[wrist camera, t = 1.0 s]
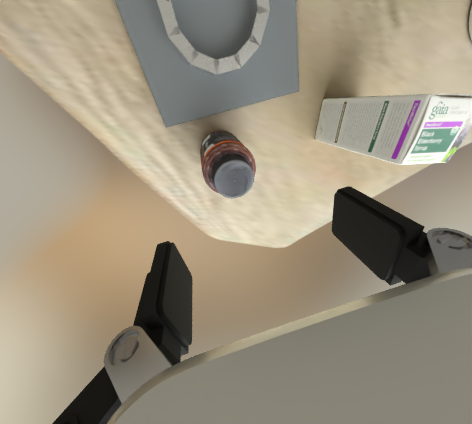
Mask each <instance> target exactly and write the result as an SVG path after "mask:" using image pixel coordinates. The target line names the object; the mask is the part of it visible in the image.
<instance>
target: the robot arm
mask: <svg viewBox="0 0 472 424" xmlns="http://www.w3.org/2000/svg"><path fill="white" fill-rule="evenodd" d="M469 33H470V37H471V40H472V6H471V10H470V17H469ZM423 229H424V226H422V225H420V224H418V223H416V222H414V221H413V220H411V219H409V218H407V217H405V216H403V215H402V214H400V213H398V212H396V211H394V210H392V209H390V208H389V207H387V206H385V205H383V204H381V203H379V202H378V201H376V200H374V199H372V198H370V197H368V196H367V195H365V194H363V193H361V192H359V191H357V190H356V189H354V188H352V187H345V188H342V189H339V190H337V193H335V196H334V208H333V220H332V232H333V234H334V235H335V236H336V237H337V238H338V239H339V240H340V241H341V242H342V243H343V244H344V245H345V246H346V247H347V248H348V249H349V250H350V251H351V252H352V253H353V254H355V255H356V256H357V257H358V258H359V259H360V260H361V261H362V262H363V263H364V264H365V265H366V266H367V267H368V268H369V269H370V270H371V271H373V273H375V274H376V275H377V276H378V277H379V278H380V279H382V280H385V281H386V282H387V283H388V284H389V285H393V284H396V283H399V282H401V280H402V281H403V282H405V283H406V284H404V285H401V286H398V287H395V288H393V289H389V290H386V291H383V292H380V293H377V294H374V295H371V296H368V297H365V298H362V299H359V300H356V301H353V302H350V303H347V304H344V305H341V306H338V307H335V308H332V309H329V310H326V311H323V312H320V313H317V314H314V315H311V316H308V317H305V318H302V319H299V320H296V321H293V322H290V323H287V324H285V325H282V326H279V327H276V328H273V329H270V330H267V331H264V332H261V333H258V334H255V335H252V336H250V337H246V338H244V339H241V340H238V341H235V342H232V343H229V344H227V345H224V346H221V347H218V348H215V349H213V350H210V351H207V352H204V353H202V354H199V355H196V356H194V357H191V358H189V359H187V360H184V361H182V362H180V357H181V355H184V354H187V353H188V345H190V344H191V342H192V276H191V273H190V271H189V270H188V268H187V266H186V264H185V262H184V261H183V259H182V257H181V255H180V253H179V252H178V250H177V248H176V246H175V244H174V243H170V242H169V241H167V242H163V243H160V244H158V245H157V248H156V251H155V255H154V260H153V263H152V267H151V271H150V272H149V273H148V274H147V277H146V280H145V284H144V287H143V291H142V295H141V299H140V302H139V306H138V310H137V314H136V317H135V321H134V325H133V326H131V327H128V328H126V329H125V330H123V331H122V332H121V333H119V334H118V335H117V336H116V337H115V338H114V339H113V340H112V342H111V344H110V345H109V346H108V348H107V351H106V353H105V357H104V367H103V369H102V370H101V371H100V372H99V373H98V374H97V375H96V376H95V377H94V378H93V380H92V381H91V382H90V383H89V384H88V385H87V386H86V387H85V388H84V389H83V391H82V392H81V393H80V394H79V395H78V396H77V397H76V398H75V399H74V401H73V402H72V403H71V404H70V405H69V406H68V407H67V408H66V409H65V410H64V411H63V413H62V414H61V415H60V416H59V417H58V418H57V419H56V420H55V421H54V423H53V424H472V236H470V235H468V234H466V233H464V232H461V231H457V230H454V229H448V228H435V229H431V230H429V231H428V232H427V233H425V232H423Z"/></svg>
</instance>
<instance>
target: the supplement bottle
mask: <svg viewBox="0 0 472 424" xmlns="http://www.w3.org/2000/svg"><path fill="white" fill-rule="evenodd" d="M200 151H201V152H200V153H201V163H202V172H203V176H204V179H205V181H206V183H207V184H208V186H209V187H210V188H211V189H212V190H214V191H215V192H217V193H220V194H221V195H223V196H225V197H228V198H237V197H241V196H243V195H245V194H246V193H247V192H248V191H249V190H250V189H251V187H252V185H253V182H254V176H255V171H256V165H255V160H254V158H253V155H252V154H251V152H250V151H249V150H248V149H247V148H246V147H245V146H244V145H243V144H242V143H241V142H240V141H239V140H238V139H237V138H236V137H235V136H234V135H232V134H231V133H229V132H226V131H215V132H213V133H211V134H209V135H208V136H207V137H206V138H205V139H204V141H203V143H202V145H201V150H200Z"/></svg>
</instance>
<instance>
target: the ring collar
mask: <svg viewBox="0 0 472 424" xmlns="http://www.w3.org/2000/svg"><path fill="white" fill-rule="evenodd" d="M250 1H251V9H252V21H251V25H250V29H249V33H248V37H247V41H246V43H245V44H244V45H243V47H242V48H241V49H240V50H239V51H238V53H237V54H236V55H233V56H229V57H225V58H221V59H218V60H216V59H213V58H211V57H209V56H206V55H204V54H202V53H199V52H197V51H196V50H195V49H194V48H193V47H192V45H191V44H190V43H189V41H188V40H187V39H186V38H185V36H184V35H183V34H182V33H181V31H180V30H179V28H178V24H177V21H176V17H175V14H174V10H173V7H172V2H173V0H157V3H158V6H159V9H160V12H161V15H162V19H163V22H164V25H165V28H166V31H167V35H168V38H169V40H170V42H171V43H172V45H173V46H174V47H175V48H176V49H177V51H178V52H179V53H180V54H181V55H182V57H183V58H184V59H185V60H186V61H187V63H188V64H189V65H190V66H191V67H193V68H195V69H198V70H200V71H203V72H205V73H208V74H210V75H213V76H218V75H222V74H226V73H230V72H233V71H237V70H239V69H240V68H241V67H242V66H243V65H244V64H245V63H246V62H247V60H248V59H249V58H250V57H251V56H252V55H253V54H254V52H255V51H256V50H257V49H258V48H259V47H260V44H261V41H262V37H263V34H264V30H265V27H266V23H267V19H268V16H269V12H270V7H269V0H250Z"/></svg>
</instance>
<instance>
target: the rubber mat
mask: <svg viewBox="0 0 472 424" xmlns="http://www.w3.org/2000/svg"><path fill="white" fill-rule="evenodd" d="M115 1H116V4H117V6H118V9H119V11H120V14H121V16H122V19H123V21H124V24H125V26H126V29H127V31H128V34H129V36H130V39H131V41H132V44H133V46H134V49H135V51H136V54H137V56H138V59H139V61H140V64H141V66H142V69H143V71H144V74H145V76H146V79H147V81H148V84H149V86H150V89H151V91H152V94H153V96H154V99H155V101H156V104H157V106H158V109H159V111H160V114H161V116H162V119H163V121H164V124H165V126H166V127H170V126H173V125H177V124H181V123H184V122H188V121H192V120H195V119H199V118H203V117H206V116H210V115H214V114H217V113H221V112H225V111H228V110H232V109H236V108H239V107H243V106H247V105H250V104H254V103H258V102H261V101H265V100H269V99H272V98H276V97H280V96H283V95H287V94H291V93H294V92H298V91H299V79H298V44H297V10H296V0H269V7H270V12H269V16H268V19H267V23H266V27H265V30H264V34H263V37H262V41H261V44H260V47H259V48H258V49H257V50H256V51H255V52H254V54H253V55H252V56H251V57H250V58H249V59H248V60H247V62H246V63H245V64H244V65H243V66H242V67H241V68H240V69H239V70H237V71H233V72H230V73H226V74H222V75H218V76H213V75H210V74H208V73H205V72H203V71H200V70H198V69H195V68H193V67H191V66H190V65H189V64H188V63H187V61H186V60H185V59H184V58H183V57H182V55H181V54H180V53H179V52H178V51H177V49H176V48H175V47H174V46H173V45H172V43H171V42H170V40H169V38H168V35H167V31H166V28H165V25H164V22H163V19H162V15H161V12H160V9H159V6H158V3H157V0H115ZM172 7H173V10H174V14H175V17H176V21H177V24H178V28H179V30H180V31H181V33H182V34H183V35H184V36H185V38H186V39H187V40H188V41H189V43H190V44H191V45H192V47H193V48H194V49H195V50H196V51H197V52H199V53H202V54H204V55H206V56H209V57H211V58H213V59H216V60H218V59H221V58H225V57H229V56H233V55H236V54H237V53H238V51H239V50H240V49H241V48H242V47H243V45H244V44H245V43H246V41H247V37H248V33H249V29H250V25H251V21H252V9H251V1H250V0H173V2H172Z"/></svg>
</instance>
